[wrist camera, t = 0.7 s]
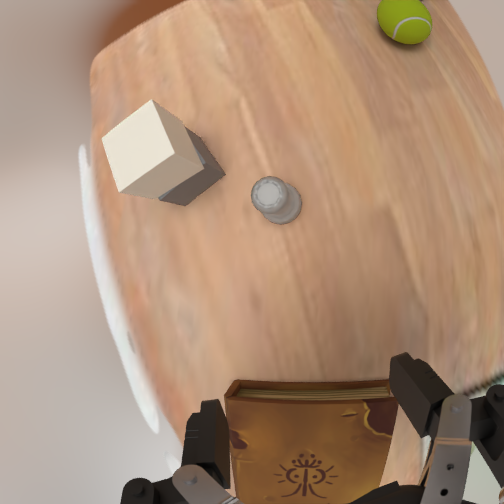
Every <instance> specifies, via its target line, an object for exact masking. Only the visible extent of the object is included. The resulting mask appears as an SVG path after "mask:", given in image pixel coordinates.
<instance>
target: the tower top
mask: <svg viewBox="0 0 504 504" xmlns="http://www.w3.org/2000/svg"><path fill="white" fill-rule="evenodd" d="M102 141H103V145H104V148H105V151H106V154H107V158H108V161H109V164H110V167H111V170H112V173H113V176H114V179H115V182H116V185H117V188H118V191H119V193H124V194H130V195H135V196H140V197H145V198H150V199H157V198H158V197H160V196H161V195H163V194H165V193H166V192H168V191H169V190H171V189H172V188H174V187H175V186H177V185H179V184H180V183H182V182H183V181H185V180H187V179H188V178H190V177H191V176H193V175H195V174H196V173H198V172H200V171H201V170H203V169H204V167H203V165H202V163H201V161H200V158H199V156H198V154H197V152H196V150H195V148H194V146H193V144H192V141H191V139H190V137H189V135H188V133H187V131H186V129H185V127H184V124H183V122H182V121H181V120H180V119H178V118H177V117H176V116H174V115H173V114H171V113H170V112H169V111H167V110H166V109H165V108H163V107H162V106H160V105H159V104H158V103H156V102H155V101H153V100H152V99H151V100H150V101H149V102H147V103H146V104H145V105H143V106H142V107H140V108H139V109H138V110H136V111H135V112H134V113H132V114H131V115H130V116H129V117H127V118H126V119H125V120H123V121H122V122H121V123H120V124H118V125H117V126H116V127H115V128H114V129H112V130H111V131H110V132H109V133H107V134H106V135H105V136H104V137H103V138H102Z"/></svg>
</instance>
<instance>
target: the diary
mask: <svg viewBox="0 0 504 504" xmlns="http://www.w3.org/2000/svg"><path fill="white" fill-rule="evenodd" d="M389 395H390V385H389V379H387V380H374V381H355V382H269V381H251V380H235V381H234V382H233V383H232V384H231V386H230V387H229V389H228V390H227V392H226V393H225V395H224V400H225V410H226V419H227V422H228V426H229V438H230V453H231V461H232V469H233V477H234V484H235V491H236V498H237V499H239V500H240V501H241V502H242V503H244V504H347V503H351V502H353V501H354V500H356V499H358V498H360V497H361V496H363V495H365V494H367V493H368V492H370V491H372V490H373V489H376V488H379V485H380V482H381V478H382V475H383V471H384V468H385V464H386V460H387V456H388V452H389V448H390V444H391V439H392V435H393V430H394V425H395V420H396V415H397V410H398V404H399V403H398V401H397V399H396V398H395V397H390V396H389Z"/></svg>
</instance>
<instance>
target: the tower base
mask: <svg viewBox="0 0 504 504" xmlns="http://www.w3.org/2000/svg"><path fill="white" fill-rule="evenodd" d="M184 127H185V126H184ZM185 129H186V131H187V133H188V135H189V137H190V139H191V141H192V144H193V146H194V148H195V150H196V152H197V154H198V156H199V158H200V161H201V163H202V165H203V167H204V169H203V170H201V171H200V172H198V173H196V174H195V175H193V176H191V177H190V178H188V179H187V180H185V181H183V182H182V183H180V184H179V185H177V186H175V187H174V188H172V189H171V190H169V191H168V192H166V193H165V194H163V195H161V196H160V197H158V198H159V200H160V201H165V202H170V203H175V204H179V205H184V206H186V205H188V204H189V203H190V202H191V201H192V200H194V199H195V198H196V197H197V196H199V195H200V194H201V193H202V192H204V191H205V190H206V189H208V188H209V187H210V186H211V185H213V184H214V183H215V182H217V181H218V180H219V179H220V178H222V177H223V176H224V175H226V174H225V173H224V171H223V170H222V168H221V167H220V166H219V164H218V163H217V161H216V160H215V158H214V157H213V156H212V154H211V153H210V151H209V150H208V148H207V147H206V146H205V144H204V143H203V141H202V140H201V139H200V137H199V136H197V135H196V134H195V133H193V132H192V131H190V130H189V129H188V128H186V127H185Z"/></svg>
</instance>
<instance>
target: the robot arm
mask: <svg viewBox="0 0 504 504" xmlns="http://www.w3.org/2000/svg"><path fill="white" fill-rule="evenodd" d="M389 385H390V389H391V392H392V393H393V395H394V396H395V398H396V399H397V401H398V403H399V404H400V406H401V407H402V409H403V410H404V412H405V413H406V415H407V417H408V418H409V420H410V421H411V423H412V424H413V426H414V428H415V429H416V431H417V432H418V434H419V435H420V437H421V438H423V437H425V436H427V435H430V437H431V441H430V445H429V449H428V453H427V457H426V461H425V465H424V468H423V472H422V475H421V478H420V480H419V483H418V485H401V486H399V484H398V482H397V481H394V482H392V483H389V484H387V485H384V486H382V487H379V488H376V489H373V490H372V491H370V492H368V493H367V494H365V495H363V496H361V497H360V498H358V499H356V500H354V501H353V502H351V503H347V504H476V503H472V502H469V501H465V500H462V498H463V494H464V489H465V484H466V479H467V473H468V468H469V461H470V454H471V446H472V441H473V442H474V444H475V445H476V447H477V448H478V450H479V452H480V453H481V455H482V456H483V458H484V459H485V461H486V463H487V465H488V466H489V468H490V469H491V471H492V473H493V474H494V476H495V478H496V480H497V481H498V483H499V484H500V486H501V488H502V490H501V491H500V494H499V501H500V503H499V504H504V385H500V384H498V385H494V386H492V387H490V388H489V389H488V391H487V393H486V396H482V397H478V398H474V399H469V398H468V397H466V396H464V395H461V394H454V393H453V392H452V391H451V390H450V388H449V387H448V386H447V385H446V384H445V383H444V382H443V380H442V379H441V378H440V377H439V376H437V374H436V372H435V371H433V369H432V368H431V367H430V366H429V365H428V363H426V362H424V361H422V360H420V359H416V360H414V359H413V358H412V357H411V356H410V355H409V354H408V353H407V352H405V353H402V354H399V355H397V356H394V357H392V358H391V362H390V375H389ZM225 489H230V438H229V426H228V422H227V419H226V416H225V414H224V411H223V409H222V406H221V404H220V401H219V400H218V399H215V400H207V401H202V402H201V410H200V412H199V413H192V415H191V416H190V418H189V419H188V421H187V425H186V433H185V440H184V448H183V456H182V463H181V467H180V468H179V469H177V470H176V471H175V473H174V474H173V476H172V477H170V478H168V479H165V480H161V481H158V482H154V483H151V482H150V481H149V480H147V479H145V478H136V479H132V480H130V481H129V482H127V484H126V485H125V486H124V488H123V492H122V497H121V503H120V504H244V503H242V502H241V501H240V500H239V499H237V498H236V497H235V498H234V497H232V496H231V495H230V494H229V493H228V492H227V491H226V490H225Z"/></svg>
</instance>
